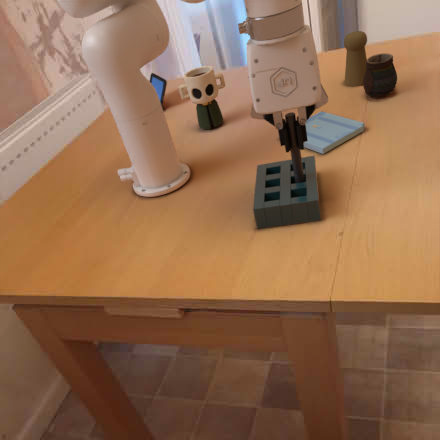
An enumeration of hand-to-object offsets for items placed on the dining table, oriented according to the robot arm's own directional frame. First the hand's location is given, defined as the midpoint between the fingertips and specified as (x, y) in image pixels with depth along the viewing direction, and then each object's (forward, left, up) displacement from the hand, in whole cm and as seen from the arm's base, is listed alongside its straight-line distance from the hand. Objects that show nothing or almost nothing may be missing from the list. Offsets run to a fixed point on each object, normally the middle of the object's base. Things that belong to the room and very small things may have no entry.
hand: (294, 146), depth 77 cm
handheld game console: (-42, +61, -10) cm, 75 cm away
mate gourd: (+19, +39, -10) cm, 44 cm away
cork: (+15, +50, -10) cm, 53 cm away
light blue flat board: (+5, +24, -10) cm, 26 cm away
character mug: (-21, +40, -10) cm, 47 cm away
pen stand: (-2, 0, -10) cm, 10 cm away
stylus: (0, 0, -8) cm, 8 cm away
